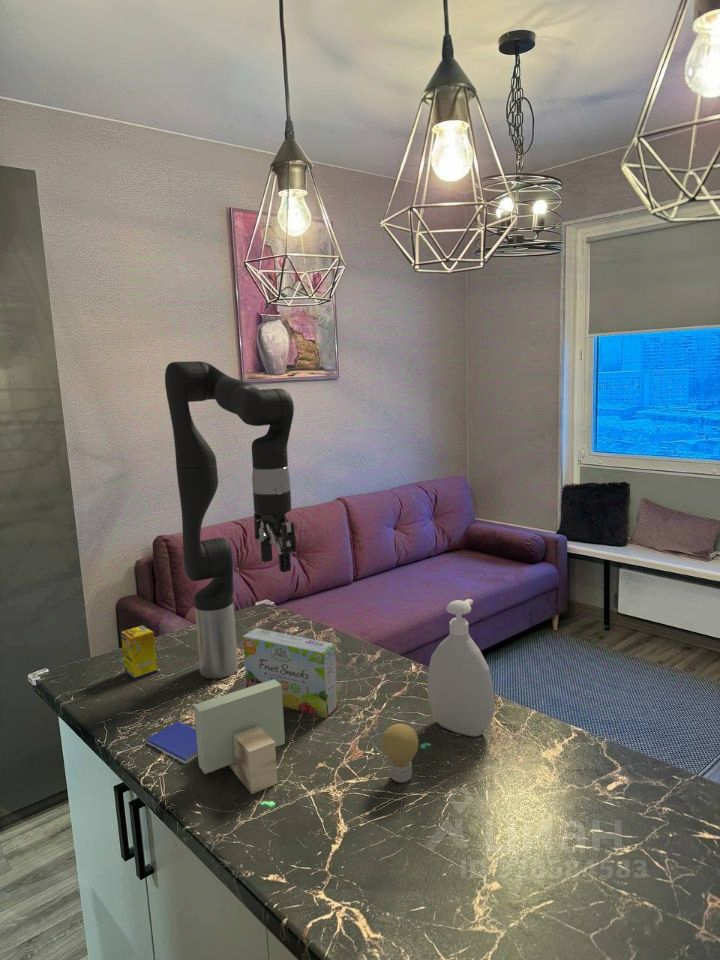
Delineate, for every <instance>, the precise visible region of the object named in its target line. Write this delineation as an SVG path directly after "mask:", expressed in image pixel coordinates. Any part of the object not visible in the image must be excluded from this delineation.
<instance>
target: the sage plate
mask: <svg viewBox="0 0 720 960" xmlns="http://www.w3.org/2000/svg"><path fill="white" fill-rule="evenodd" d="M193 711H194V723H195V729H196V737H197V748H198V757H197V758H198V760H197V761H198V767H199V768H200V769H201V770H202V772H203V773H204V775H207V774H208V773H212V772H214V771H217V770H219V769H222V768H225V767H227V766H229V765H230V764H232V763H235V749H234V736H233V735H234V734H237V733H240V732H243V731H246V730H248V729H251V728H254V727H257V726H260V727H261V729H262V730H263V731H264V732H265V733H266V734H267V735H268V736H269V737H270V738H271V739H272V740H273V741H274V742H275V748H276V747H279V746H282V745H284V744H285V743H286V737H285V721H284V717H285V716H284V706H283V701H282V685H281V684H280V683H279V682H277V681H276V680H275V679H273V680H270V681H267V682H264V683H261V684H258V685H254V686H251V687H248V688H247V687H245V688H241V689H240V690H236V691H232V692H229V693H227V694H223V695H220V696H217V697H214V698H211V699H208V700H204V701H201V702H198V703H196V704H193Z"/></svg>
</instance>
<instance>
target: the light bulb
mask: <svg viewBox="0 0 720 960" xmlns="http://www.w3.org/2000/svg"><path fill="white" fill-rule="evenodd" d="M381 746H382V750H383V752H384V754H385V756H387V758H388V759H389V761H390V777H391V779H392V780H393V781H395V782H396V783H400V784H401V783H402V784H403V783H406V782H408V781H410V780H411V778H412V760H413V758H414V757H415V756H416V754H417V752H418V749H419V737H418V734H417V732H416V731H415V729H414V728H413V727H411V726H410V725H408V724H406V723H405V724H404V723H396V724H392V725H390V726H389V727H388V728H387V729H386V730H385V732H384V733H383V735H382V740H381Z"/></svg>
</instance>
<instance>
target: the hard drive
mask: <svg viewBox="0 0 720 960" xmlns="http://www.w3.org/2000/svg"><path fill="white" fill-rule="evenodd" d="M145 740H146V741H145V742H147V743H148V744H147V743H146V744H147V745H149V744H150V745H149V746H151V745H152V746H154V747H156V748H157V750H158V749H159V750H158V751H160V750H161V751H160V752H162V753H164V754H165V755H168V756H169V755H170V757H171V756H172V757H171V758H174V759H175V758H176V760H177V759H178V760H177V761H179V762H181V763H183V764H185V765H186V763H187V764H188V763H190V762H191V761H193V760H195V759H196V758H198V757H197V756H198V748H197V737H196V728H193V727H192V726H189V725H187V724H185V723H182V721H177V722H175V723H173V724H171V725H169V726H168V727H165V728H164V729H162V730H160V731H158V732H156V733H154V734H152V735H151V736H149V737H147V738H146V739H145ZM152 746H151V747H152ZM154 747H153V748H154ZM156 748H155V749H156ZM195 757H196V758H195ZM194 758H195V759H194ZM192 759H193V760H192Z"/></svg>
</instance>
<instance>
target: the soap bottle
mask: <svg viewBox="0 0 720 960" xmlns="http://www.w3.org/2000/svg"><path fill="white" fill-rule="evenodd" d="M473 604H474V599H470V598H467V599H465V600H462V599H461V600H459V599H456V600H453V601H451V602H450V603H448V605H447V606H446V609H445V610H446V612H447V613H450V614H452V615H455V617H454V618H451V620H450V621H449V622H448V623H449V634H448V636H446V637H445V639H443V640H442V641H441V642H440V643H439V645H438V646H437V648H436V649H435V651H433V653H432V655H431V656H430V661H429V666H428V669H427V670H428V671H427V696H428V701H429V707H430V710H431V712H432V715H433V716H434V719H435V721H436V722H437V723H438V724H439V726H441V727H443V728H444V729H446V730H448V731H451V732H454V733H456V734H458V735H459V734H460V735H462V736H468V737H479V736H481V735H483V734H484V733H485V732H486V731H487V729H488V727H490V725H491V722H492V720H493V719H492V718H493V715H494V708H495V707H494V704H495V697H494V689H493V681H492V676H491V672H490V667H489V665H488V663H487V660H486V659H485V658H484V655H483V653H482V651H481V650H480V648H479V647H478V645H477V644H476V642H475V641H474V640H473V639H472V637H471V636H470V633H469V621H468V620H467V619H466V618H464V617H462V616H463V615H467V614H470V613H471V611H472V607H471V606H472V605H473Z"/></svg>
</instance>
